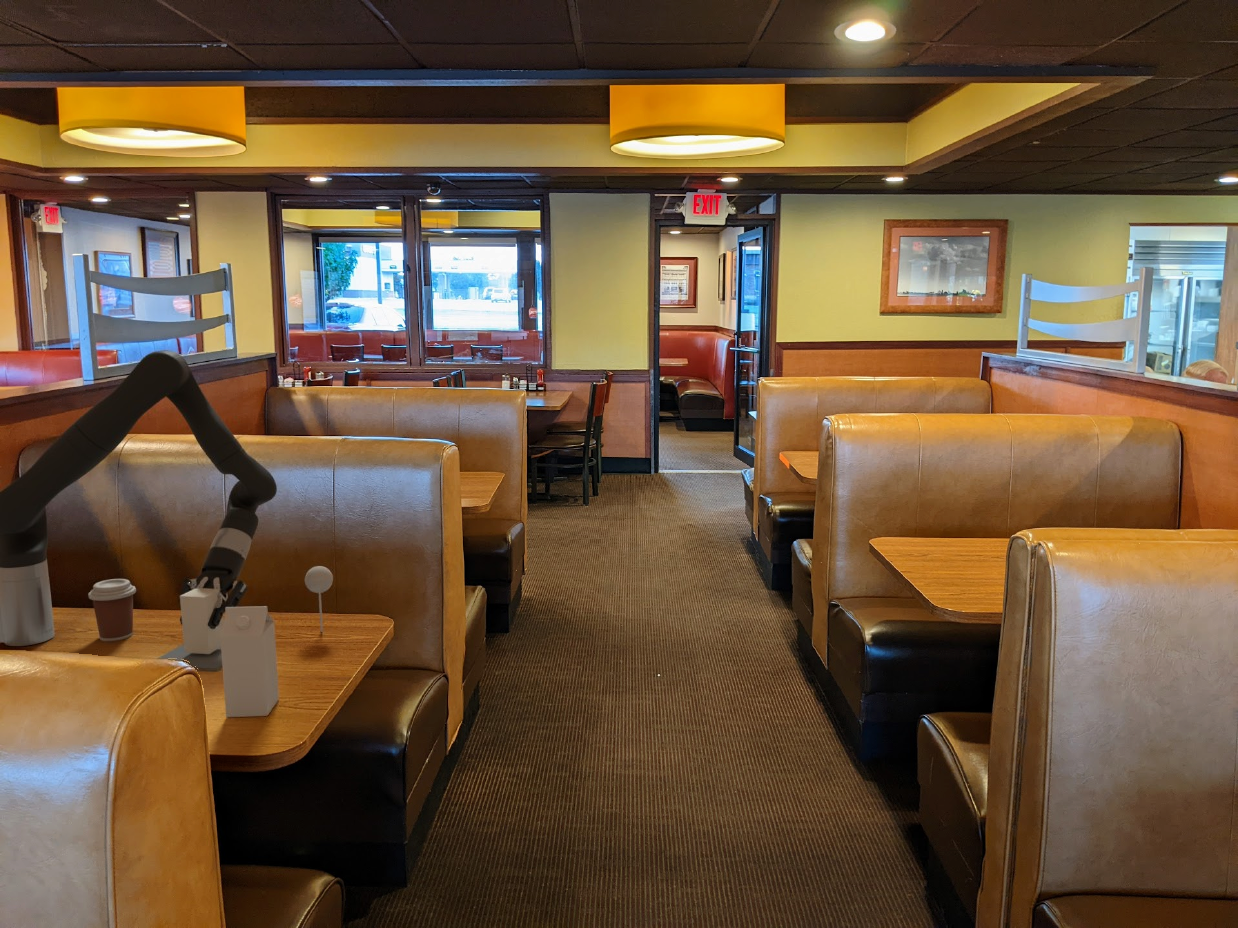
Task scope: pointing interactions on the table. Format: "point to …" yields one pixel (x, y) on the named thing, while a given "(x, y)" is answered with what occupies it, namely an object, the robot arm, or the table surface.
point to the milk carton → (249, 661)
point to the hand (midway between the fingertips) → (197, 625)
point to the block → (199, 621)
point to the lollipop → (319, 583)
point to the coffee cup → (113, 608)
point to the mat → (197, 658)
